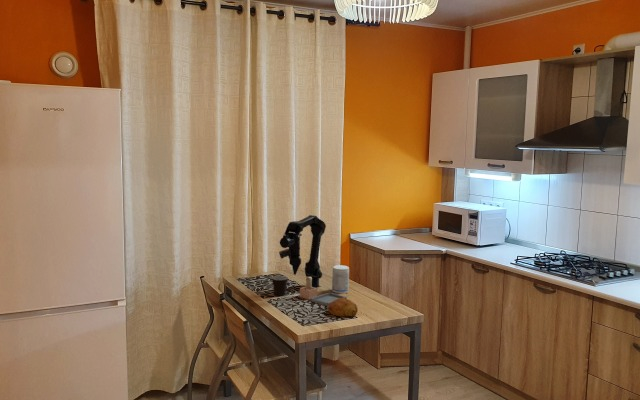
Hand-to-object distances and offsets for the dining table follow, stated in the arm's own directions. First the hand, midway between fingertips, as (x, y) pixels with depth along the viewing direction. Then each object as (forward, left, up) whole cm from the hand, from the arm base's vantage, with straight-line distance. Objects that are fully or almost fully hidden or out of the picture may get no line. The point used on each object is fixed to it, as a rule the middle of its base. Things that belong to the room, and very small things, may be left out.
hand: (294, 272), depth 283 cm
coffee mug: (+4, -6, -14) cm, 16 cm away
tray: (-6, +21, -13) cm, 25 cm away
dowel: (-3, +9, -13) cm, 16 cm away
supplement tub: (-25, +14, -14) cm, 31 cm away
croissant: (+3, +37, -14) cm, 39 cm away
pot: (-3, +9, -13) cm, 16 cm away
